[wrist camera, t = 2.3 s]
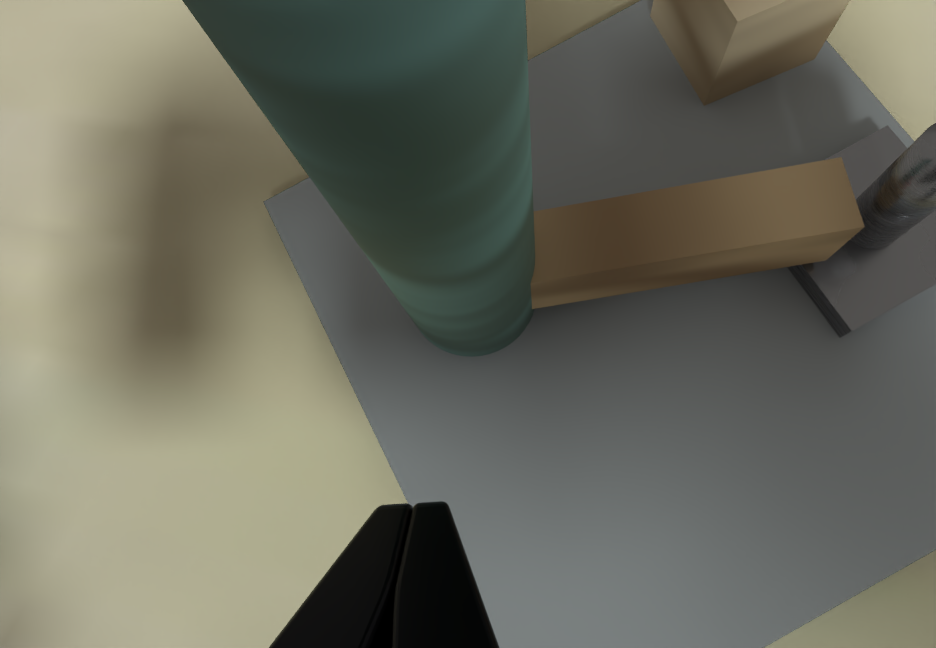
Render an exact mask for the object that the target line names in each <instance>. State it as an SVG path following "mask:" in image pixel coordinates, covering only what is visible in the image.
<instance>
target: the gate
mask: <svg viewBox="0 0 936 648" xmlns="http://www.w3.org/2000/svg"><path fill="white" fill-rule="evenodd" d="M183 2H184V3H185V5H186V6H187V7H188V9H189V10H190V12H191V13H192V14H193V16H194V17H195V19H196V20H197V21H198V23H199V24H200V26H201V27H202V28H203V30H204V31H205V32H206V34H207V35H208V37H209V38H210V39H211V41H212V42H213V44H214V45H215V46H216V48H217V49H218V51H219V52H220V53H221V55H222V56H223V58H224V59H225V60H226V62H227V63H228V64H229V66H230V67H231V69H232V70H233V71H234V73H235V74H236V76H237V77H238V78H239V80H240V81H241V83H242V84H243V85H244V87H245V88H246V89H247V91H248V92H249V94H250V95H251V96H252V98H253V99H254V101H255V102H256V103H257V105H258V106H259V108H260V109H261V110H262V112H263V113H264V115H265V116H266V117H267V119H268V120H269V121H270V123H271V124H272V126H273V127H274V128H275V130H276V131H277V133H278V134H279V135H280V137H281V138H282V140H283V141H284V142H285V144H286V145H287V147H288V148H289V149H290V151H291V152H292V153H293V155H294V156H295V158H296V159H297V160H298V162H299V163H300V165H301V166H302V167H303V169H304V170H305V172H306V173H307V174H308V176H309V177H310V178H311V180H312V181H313V183H314V184H315V185H316V187H317V188H318V190H319V191H320V192H321V194H322V195H323V197H324V198H325V199H326V201H327V202H328V204H329V205H330V206H331V208H332V209H333V210H334V212H335V213H336V215H337V216H338V217H339V219H340V220H341V222H342V223H343V224H344V226H345V227H346V229H347V230H348V231H349V233H350V234H351V236H352V237H353V238H354V240H355V241H356V242H357V244H358V245H359V247H360V248H361V249H362V251H363V252H364V254H365V255H366V256H367V258H368V259H369V261H370V262H371V263H372V265H373V266H374V267H375V269H376V270H377V272H378V273H379V274H380V276H381V277H382V279H383V280H384V281H385V283H386V284H387V286H388V287H389V288H390V290H391V291H392V293H393V294H394V295H395V297H396V298H397V299H398V301H399V302H400V304H401V305H402V306H403V308H404V309H405V311H406V312H407V313H408V315H409V316H410V318H411V319H412V320H413V322H414V323H415V325H416V326H417V327H418V329H419V330H420V331H421V333H422V334H423V335H424V336H425V337H426V339H427V340H429V341H430V342H431V343H432V344H433V345H435V346H436V347H438V348H440V349H441V350H444V351H446V352H448V353H451V354H455V355H459V356H470V357H474V356H483V355H487V354H491V353H494V352H496V351H499V350H501V349H503V348H505V347H506V346H508V345H509V344H511V343H512V342H513V341H514V340H516V339H517V338H518V337H519V336H520V335H521V333H522V332H523V331H524V330H525V328H526V327H527V325H528V324H529V322H530V320H531V318H532V316H533V312H534V309H536V308H542V307H548V306H554V305H560V304H566V303H573V302H579V301H585V300H591V299H597V298H603V297H609V296H615V295H621V294H627V293H633V292H639V291H645V290H651V289H657V288H663V287H669V286H675V285H681V284H687V283H693V282H699V281H705V280H711V279H717V278H723V277H729V276H735V275H741V274H747V273H753V272H759V271H765V270H772V269H778V268H784V267H790V266H796V265H802V264H808V263H814V262H820V261H826V260H827V259H828V258H829V257H830V256H832V255H833V254H834V253H835V252H836V251H837V250H839V249H840V248H841V247H842V246H843V245H844V244H845V243H847V242H848V241H849V240H850V239H851V238H852V237H853V236H855V235H856V234H857V233H858V232H859V231H860V230H862V229H863V228H864V227H865V226H864V223H863V220H862V217H861V214H860V211H859V208H858V205H857V202H856V199H855V196H854V193H853V190H852V187H851V184H850V181H849V178H848V175H847V172H846V169H845V166H844V163H843V160H842V157H839V158H834V159H828V160H822V161H817V162H811V163H805V164H800V165H794V166H788V167H783V168H777V169H771V170H766V171H760V172H754V173H749V174H743V175H737V176H732V177H726V178H720V179H715V180H709V181H703V182H698V183H692V184H686V185H681V186H675V187H669V188H664V189H658V190H652V191H647V192H641V193H635V194H630V195H624V196H618V197H613V198H607V199H601V200H596V201H590V202H584V203H579V204H573V205H567V206H562V207H556V208H550V209H545V210H539V211H534V210H533V184H532V158H531V133H530V107H529V81H528V56H527V30H526V5H525V0H183Z"/></svg>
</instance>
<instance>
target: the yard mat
mask: <svg viewBox="0 0 936 648" xmlns="http://www.w3.org/2000/svg"><path fill="white" fill-rule="evenodd" d="M652 5H653V0H641V1H639V2H637V3H635V4H633V5H631V6H629V7H628V8H626V9H624V10H622V11H620V12H618V13H616V14H614V15H613V16H611V17H609V18H607V19H605V20H603V21H601V22H599V23H598V24H596V25H594V26H592V27H590V28H588V29H586V30H584V31H583V32H581V33H579V34H577V35H575V36H573V37H571V38H569V39H568V40H566V41H564V42H562V43H560V44H558V45H556V46H554V47H553V48H551V49H549V50H547V51H545V52H543V53H541V54H539V55H538V56H536V57H534V58H532V59H530V60H528V81H529V107H530V133H531V158H532V184H533V210H534V211H539V210H545V209H550V208H556V207H562V206H567V205H573V204H579V203H584V202H590V201H596V200H601V199H607V198H613V197H618V196H624V195H630V194H635V193H641V192H647V191H652V190H658V189H664V188H669V187H675V186H681V185H686V184H692V183H698V182H703V181H709V180H715V179H720V178H726V177H732V176H737V175H743V174H749V173H754V172H760V171H766V170H771V169H777V168H783V167H788V166H794V165H800V164H805V163H811V162H817V161H822V160H825V159H827V158H829V157H830V156H832V155H834V154H836V153H838V152H839V151H841V150H843V149H845V148H847V147H849V146H850V145H852V144H854V143H856V142H858V141H860V140H861V139H863V138H865V137H867V136H869V135H871V134H872V133H874V132H876V131H878V130H880V129H882V128H883V127H885V126H887V125H888V126H889V127H890V128H891V130H892V131H893V132H894V133H895V134H896V135H897V137H898V138H899V139H900V140H901V141H902V142H903V144H904V145H905V146H906V147H907V148H908V147H910V146H911V145H912V144H913V143H914V141H913V139H912V138H911V137H910V136H909V135H908V134H907V132H906V131H905V130H904V129H903V128H902V127H901V126H900V124H899V123H898V122H897V121H896V120H895V119H894V118H893V116H892V115H891V114H890V113H889V112H888V111H887V109H886V108H885V107H884V106H883V105H882V104H881V103H880V101H879V100H878V99H877V98H876V97H875V96H874V94H873V93H872V92H871V91H870V90H869V89H868V88H867V86H866V85H865V84H864V83H863V82H862V81H861V80H860V78H859V77H858V76H857V75H856V74H855V73H854V71H853V70H852V69H851V68H850V67H849V66H848V65H847V63H846V62H845V61H844V60H843V59H842V58H841V56H840V55H839V54H838V53H837V52H836V51H835V50H834V48H833V47H832V46H831V45H830V44H829V43H828V41H827V40H826V41H825V43H824V44H823V46H822V48H821V49H820V51H819V53H818V54H817V56H816V58H815V59H814V60H812V61H809V62H807V63H805V64H802V65H800V66H797V67H795V68H793V69H790V70H788V71H786V72H783V73H781V74H778V75H776V76H774V77H771V78H769V79H767V80H764V81H762V82H759V83H757V84H755V85H752V86H750V87H748V88H745V89H743V90H740V91H738V92H736V93H733V94H731V95H729V96H726V97H724V98H721V99H719V100H717V101H714V102H712V103H710V104H707V105H705V106H704V105H703V103H702V102H701V100H700V98H699V97H698V95H697V93H696V92H695V90H694V88H693V87H692V85H691V83H690V82H689V80H688V78H687V77H686V75H685V73H684V72H683V70H682V68H681V67H680V65H679V63H678V62H677V60H676V58H675V57H674V55H673V53H672V52H671V50H670V48H669V47H668V45H667V43H666V42H665V40H664V38H663V37H662V35H661V33H660V32H659V30H658V28H657V27H656V25H655V24H654V22H653V20H652V19H651V17H650V14H651V9H652ZM264 204H265V206H266V208H267V210H268V212H269V215H270V217H271V219H272V221H273V223H274V225H275V227H276V229H277V231H278V233H279V235H280V237H281V240H282V242H283V244H284V246H285V248H286V250H287V252H288V254H289V256H290V258H291V260H292V262H293V265H294V267H295V269H296V271H297V273H298V275H299V277H300V279H301V281H302V283H303V285H304V287H305V290H306V292H307V294H308V296H309V298H310V300H311V302H312V304H313V306H314V308H315V310H316V312H317V315H318V317H319V319H320V321H321V323H322V325H323V327H324V329H325V331H326V333H327V335H328V337H329V339H330V342H331V344H332V346H333V348H334V350H335V352H336V354H337V356H338V358H339V360H340V362H341V364H342V367H343V369H344V371H345V373H346V375H347V377H348V379H349V381H350V383H351V385H352V387H353V389H354V392H355V394H356V396H357V398H358V400H359V402H360V404H361V406H362V408H363V410H364V412H365V414H366V417H367V419H368V421H369V423H370V425H371V427H372V429H373V431H374V433H375V435H376V437H377V439H378V441H379V444H380V446H381V448H382V450H383V452H384V454H385V456H386V458H387V460H388V462H389V464H390V466H391V469H392V471H393V473H394V475H395V477H396V479H397V481H398V483H399V485H400V487H401V489H402V491H403V494H404V496H405V498H406V500H407V502H408V504H410V505H412V506H413V507H414V505H415V504H417V503H422V502H438V501H444V502H446V503H447V504H448V505H449V508H450V510H451V513H452V516H453V519H454V521H455V524H456V527H457V530H458V533H459V535H460V538H461V541H462V544H463V547H464V549H465V552H466V555H467V558H468V561H469V563H470V566H471V569H472V572H473V575H474V577H475V580H476V583H477V586H478V589H479V591H480V594H481V597H482V600H483V603H484V606H485V608H486V611H487V614H488V617H489V620H490V622H491V625H492V628H493V631H494V634H495V636H496V639H497V642H498V645H499V648H764V647H766V646H767V645H769V644H771V643H773V642H774V641H776V640H778V639H780V638H781V637H783V636H785V635H787V634H788V633H790V632H792V631H794V630H795V629H797V628H799V627H801V626H802V625H804V624H806V623H808V622H810V621H811V620H813V619H815V618H817V617H818V616H820V615H822V614H824V613H825V612H827V611H829V610H831V609H832V608H834V607H836V606H838V605H839V604H841V603H843V602H845V601H846V600H848V599H850V598H852V597H853V596H855V595H857V594H859V593H860V592H862V591H864V590H866V589H868V588H869V587H871V586H873V585H875V584H876V583H878V582H880V581H882V580H883V579H885V578H887V577H889V576H890V575H892V574H894V573H896V572H897V571H899V570H901V569H903V568H904V567H906V566H908V565H910V564H911V563H913V562H915V561H917V560H918V559H920V558H922V557H924V556H925V555H927V554H929V553H931V552H933V551H934V550H936V285H934V286H932V287H931V288H929V289H927V290H925V291H923V292H922V293H920V294H918V295H916V296H914V297H913V298H911V299H909V300H907V301H905V302H904V303H902V304H900V305H898V306H896V307H895V308H893V309H891V310H889V311H887V312H886V313H884V314H882V315H880V316H878V317H877V318H875V319H873V320H871V321H869V322H868V323H866V324H864V325H862V326H860V327H859V328H857V329H855V330H853V331H851V332H850V333H848V334H846V335H844V336H842V337H841V338H840V337H839V336H838V335H837V333H836V332H835V331H834V329H833V328H832V327H831V325H830V324H829V323H828V321H827V320H826V319H825V317H824V316H823V315H822V313H821V312H820V311H819V309H818V308H817V307H816V305H815V304H814V302H813V301H812V300H811V298H810V297H809V296H808V294H807V293H806V292H805V290H804V289H803V288H802V286H801V285H800V284H799V282H798V281H797V280H796V278H795V277H794V276H793V274H792V273H791V271H790V270H789V269H788V267H784V268H778V269H772V270H765V271H759V272H753V273H747V274H741V275H735V276H729V277H723V278H717V279H711V280H705V281H699V282H693V283H687V284H681V285H675V286H669V287H663V288H657V289H651V290H645V291H639V292H633V293H627V294H621V295H615V296H609V297H603V298H597V299H591V300H585V301H579V302H573V303H566V304H560V305H554V306H548V307H542V308H536V309H534V312H533V316H532V318H531V320H530V322H529V324H528V325H527V327H526V328H525V330H524V331H523V332H522V333H521V335H520V336H519V337H518V338H517V339H516V340H514V341H513V342H512V343H511V344H509V345H508V346H506V347H505V348H503V349H501V350H499V351H496V352H494V353H491V354H487V355H483V356H474V357H470V356H459V355H455V354H451V353H448V352H446V351H444V350H441V349H440V348H438V347H436V346H435V345H433V344H432V343H431V342H430V341H429V340H427V339H426V337H425V336H424V335H423V334H422V333H421V331H420V330H419V329H418V327H417V326H416V325H415V323H414V322H413V320H412V319H411V318H410V316H409V315H408V313H407V312H406V311H405V309H404V308H403V306H402V305H401V304H400V302H399V301H398V299H397V298H396V297H395V295H394V294H393V293H392V291H391V290H390V288H389V287H388V286H387V284H386V283H385V281H384V280H383V279H382V277H381V276H380V274H379V273H378V272H377V270H376V269H375V267H374V266H373V265H372V263H371V262H370V261H369V259H368V258H367V256H366V255H365V254H364V252H363V251H362V249H361V248H360V247H359V245H358V244H357V242H356V241H355V240H354V238H353V237H352V236H351V234H350V233H349V231H348V230H347V229H346V227H345V226H344V224H343V223H342V222H341V220H340V219H339V217H338V216H337V215H336V213H335V212H334V210H333V209H332V208H331V206H330V205H329V204H328V202H327V201H326V199H325V198H324V197H323V195H322V194H321V192H320V191H319V190H318V188H317V187H316V185H315V184H314V183H313V181H312V180H311V178H310V177H309V178H307V179H305V180H303V181H301V182H299V183H298V184H296V185H294V186H292V187H290V188H288V189H286V190H284V191H283V192H281V193H279V194H277V195H275V196H273V197H271V198H269V199H268V200H266V201H264Z"/></svg>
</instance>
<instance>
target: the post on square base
mask: <svg viewBox="0 0 936 648" xmlns="http://www.w3.org/2000/svg"><path fill="white" fill-rule="evenodd" d="M839 157H842V160H843V163H844V166H845V169H846V172H847V175H848V178H849V181H850V184H851V187H852V190H853V193H854V196H855V199H856V202H857V205H858V208H859V211H860V214H861V217H862V220H863V223H864V226H865V227H864V228H863V229H862V230H860V231H859V232H858V233H857V234H856V235H855V236H853V237H852V238H851V239H850V240H849V241H848V242H847V243H845V244H844V245H843V246H842V247H841V248H840V249H839V250H837V251H836V252H835V253H834V254H833V255H832V256H830V257H829V258H828V259H827V260H826V261H820V262H814V263H808V264H802V265H796V266H790V267H788V269H789V270H790V271H791V273H792V274H793V276H794V277H795V278H796V280H797V281H798V282H799V284H800V285H801V286H802V288H803V289H804V290H805V292H806V293H807V294H808V296H809V297H810V298H811V300H812V301H813V302H814V304H815V305H816V307H817V308H818V309H819V311H820V312H821V313H822V315H823V316H824V317H825V319H826V320H827V321H828V323H829V324H830V325H831V327H832V328H833V329H834V331H835V332H836V333H837V335H838V336H839V337H840V338H841V337H842V336H844V335H846V334H848V333H850V332H851V331H853V330H855V329H857V328H859V327H860V326H862V325H864V324H866V323H868V322H869V321H871V320H873V319H875V318H877V317H878V316H880V315H882V314H884V313H886V312H887V311H889V310H891V309H893V308H895V307H896V306H898V305H900V304H902V303H904V302H905V301H907V300H909V299H911V298H913V297H914V296H916V295H918V294H920V293H922V292H923V291H925V290H927V289H929V288H931V287H932V286H934V285H936V123H935V124H933V125H932V126H930V127H929V128H928V129H927V130H926V131H925V132H924V133H923V134H922V135H921V136H920V137H919V138H918V139H917V140H916V141H915V142H914V143H913V144H912V145H911V146H910V147H908V148H907V147H906V146H905V145H904V144H903V142H902V141H901V140H900V139H899V138H898V137H897V135H896V134H895V133H894V132H893V131H892V130H891V128H890V127H889V126H888V125H887V126H885V127H883V128H882V129H880V130H878V131H876V132H874V133H872V134H871V135H869V136H867V137H865V138H863V139H861V140H860V141H858V142H856V143H854V144H852V145H850V146H849V147H847V148H845V149H843V150H841V151H839V152H838V153H836V154H834V155H832V156H830V157H829V158H827V159H825V160H828V159H834V158H839Z"/></svg>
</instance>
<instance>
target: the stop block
mask: <svg viewBox="0 0 936 648" xmlns="http://www.w3.org/2000/svg"><path fill="white" fill-rule="evenodd" d="M849 1H850V0H653V5H652V9H651V14H650V17H651V19H652V20H653V22H654V24H655V25H656V27H657V28H658V30H659V32H660V33H661V35H662V37H663V38H664V40H665V42H666V43H667V45H668V47H669V48H670V50H671V52H672V53H673V55H674V57H675V58H676V60H677V62H678V63H679V65H680V67H681V68H682V70H683V72H684V73H685V75H686V77H687V78H688V80H689V82H690V83H691V85H692V87H693V88H694V90H695V92H696V93H697V95H698V97H699V98H700V100H701V102H702V103H703V105H704V106H705V105H707V104H710V103H712V102H714V101H717V100H719V99H721V98H724V97H726V96H729V95H731V94H733V93H736V92H738V91H740V90H743V89H745V88H748V87H750V86H752V85H755V84H757V83H759V82H762V81H764V80H767V79H769V78H771V77H774V76H776V75H778V74H781V73H783V72H786V71H788V70H790V69H793V68H795V67H797V66H800V65H802V64H805V63H807V62H809V61H812V60H814V59H815V58H816V56H817V54H818V53H819V51H820V49H821V48H822V46H823V44H824V43H825V41H826V39H827V38H828V36H829V34H830V33H831V31H832V29H833V28H834V26H835V24H836V23H837V21H838V20H839V18H840V16H841V15H842V13H843V11H844V10H845V8H846V6H847V5H848V3H849Z"/></svg>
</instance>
